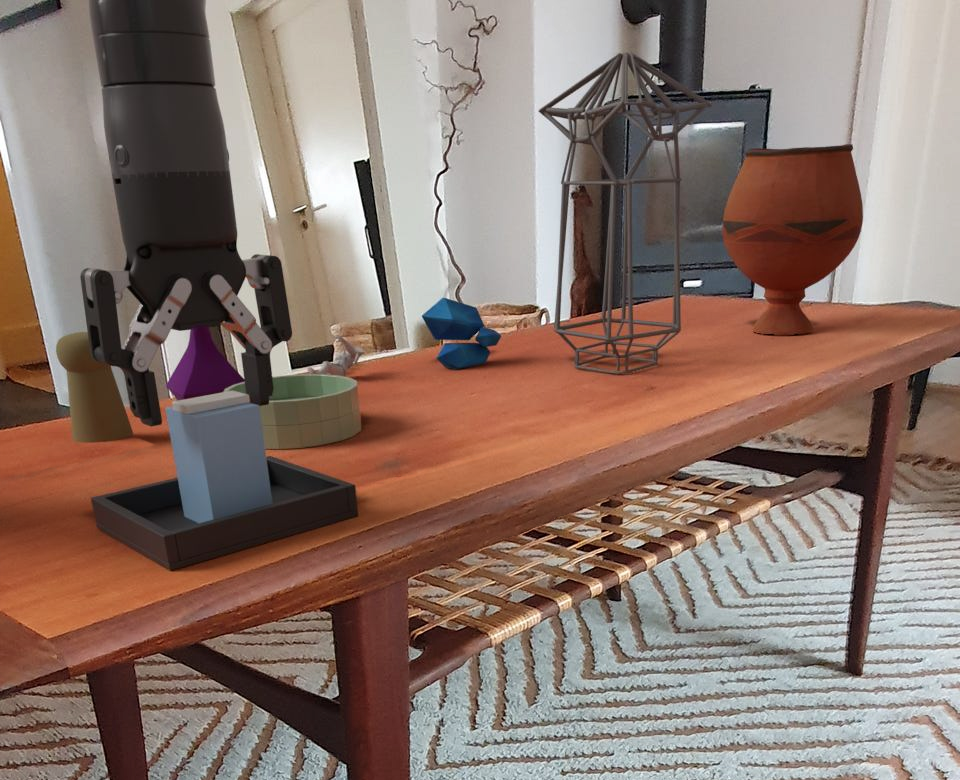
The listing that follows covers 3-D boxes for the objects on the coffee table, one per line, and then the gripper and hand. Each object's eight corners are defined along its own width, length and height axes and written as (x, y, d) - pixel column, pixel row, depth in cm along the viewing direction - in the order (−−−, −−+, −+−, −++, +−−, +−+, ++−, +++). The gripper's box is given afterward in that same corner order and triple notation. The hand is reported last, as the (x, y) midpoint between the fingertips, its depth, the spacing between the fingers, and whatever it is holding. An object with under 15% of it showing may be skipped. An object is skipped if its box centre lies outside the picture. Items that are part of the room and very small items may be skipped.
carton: (215, 531, 71) (195, 409, 67) (184, 516, 74) (163, 399, 71) (274, 515, 74) (258, 396, 70) (241, 501, 77) (224, 387, 73)
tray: (170, 571, 66) (163, 536, 64) (97, 528, 74) (90, 497, 73) (358, 515, 75) (355, 484, 74) (274, 483, 83) (270, 455, 82)
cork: (60, 452, 96) (33, 337, 91) (98, 437, 101) (75, 328, 96) (111, 455, 94) (87, 338, 89) (148, 439, 99) (127, 328, 94)
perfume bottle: (255, 416, 107) (231, 241, 99) (188, 426, 104) (157, 246, 96) (234, 404, 113) (210, 238, 105) (170, 414, 110) (140, 243, 102)
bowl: (273, 462, 90) (266, 408, 87) (206, 439, 99) (198, 389, 96) (387, 435, 97) (383, 384, 95) (315, 415, 106) (310, 369, 104)
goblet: (696, 326, 153) (706, 150, 142) (809, 319, 156) (828, 145, 145) (747, 345, 136) (764, 146, 125) (873, 336, 139) (900, 141, 128)
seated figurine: (284, 399, 119) (317, 352, 127) (317, 424, 121) (347, 375, 129) (315, 358, 114) (346, 311, 122) (348, 384, 116) (377, 336, 124)
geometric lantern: (531, 368, 126) (528, 57, 111) (612, 351, 135) (619, 61, 120) (623, 384, 115) (634, 41, 100) (704, 364, 125) (725, 48, 109)
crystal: (515, 308, 128) (448, 296, 120) (506, 375, 131) (439, 368, 123) (478, 304, 133) (410, 292, 125) (469, 369, 136) (403, 361, 128)
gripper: (239, 166, 70) (266, 391, 77) (40, 170, 62) (90, 422, 69) (294, 164, 65) (317, 406, 72) (85, 168, 57) (134, 441, 64)
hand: (206, 413), depth 71 cm, fingers open, 8 cm apart
